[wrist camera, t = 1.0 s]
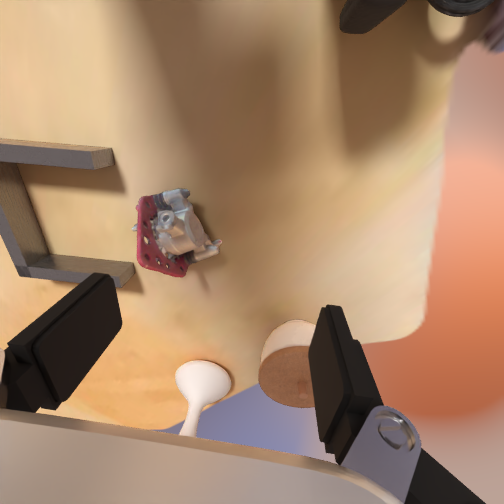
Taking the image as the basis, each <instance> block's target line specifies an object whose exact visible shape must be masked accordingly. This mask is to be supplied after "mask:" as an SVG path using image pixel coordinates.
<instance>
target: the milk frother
mask: <svg viewBox="0 0 504 504" xmlns="http://www.w3.org/2000/svg"><path fill="white" fill-rule="evenodd" d="M406 1H407V0H347V2H346V4H345V5H344V7H343V9H342V12H341V14H340V30H341V31H342V32H345V33H350V34H363V33H367V32H368V31H370V30H371V29H373V28H374V27H375V26H377V25H378V24H379V23H380V22H382V21H383V20H384V19H386V18H387V17H388V16H390V15H391V14H392V13H393V12H395V11H396V10H397V9H398V8H400V7H401V6H402V5H403V4H404V3H405V2H406ZM493 1H494V0H428V2H429V3H430V4H431V5H432V6H433V7H434V8H435V9H436V10H437V11H439V12H441V13H443V14H446V15H449V16H453V17H463V16H468V15H471V14H474V13H477V12H479V11H481V10H482V9H484V8H485V7H487V6H488V5H490V4H491V3H492V2H493Z"/></svg>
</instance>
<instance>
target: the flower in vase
mask: <svg viewBox="0 0 504 504" xmlns="http://www.w3.org/2000/svg"><path fill="white" fill-rule="evenodd" d="M175 380H176V384H177V386H178V388H179V390H180V392H181V393H182V394H183V395H184V397H185V398H186V399H187V400H188V403H189V409H188V413H187V417H186V420H185V423H184V425H183V427H182V430H181V431H180V433H179V435H183V436H190V437H196V432H197V425H198V421H199V417H200V414H201V411H202V409H203V408H204V407H205V406H206V405H208V404H211V403H213V402H215V401H218V400H220V399H221V398H223V397H224V396H225V395H226V394H227V393H228V391H229V390H230V388H231V379H230V377H229V375H228V373H227V372H226V371H225V370H224V369H223V368H222V367H220V366H219V365H217V364H215V363H212V362H209V361H204V360H193V361H189V362H186V363H184V364H183V365H182V366H180V367H179V368H178V369H177V371H176V375H175Z"/></svg>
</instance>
